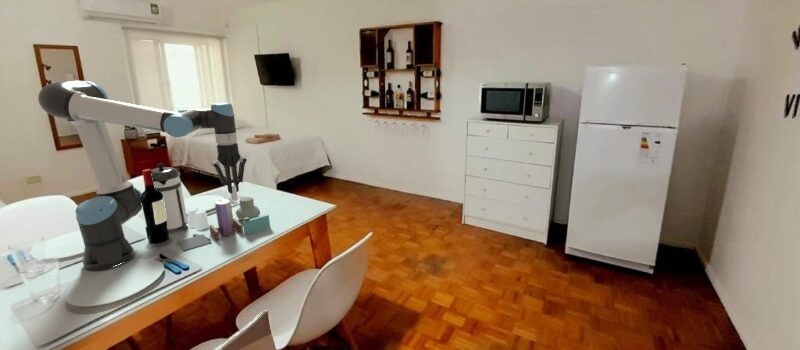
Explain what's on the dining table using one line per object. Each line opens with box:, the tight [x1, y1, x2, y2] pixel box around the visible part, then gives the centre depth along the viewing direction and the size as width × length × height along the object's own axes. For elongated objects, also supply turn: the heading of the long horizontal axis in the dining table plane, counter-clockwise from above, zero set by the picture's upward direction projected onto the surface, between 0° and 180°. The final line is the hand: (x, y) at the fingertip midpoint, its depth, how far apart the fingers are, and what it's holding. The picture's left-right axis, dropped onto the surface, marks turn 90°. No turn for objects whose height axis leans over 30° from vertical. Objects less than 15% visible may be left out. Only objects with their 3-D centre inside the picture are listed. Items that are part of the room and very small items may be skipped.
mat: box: [176, 234, 212, 252], centre depth 152 cm, size 10×10×1 cm
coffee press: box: [150, 162, 189, 231], centre depth 161 cm, size 17×16×30 cm
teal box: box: [242, 214, 271, 236], centre depth 161 cm, size 11×2×7 cm, turn 132°
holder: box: [208, 217, 244, 242], centre depth 159 cm, size 11×9×4 cm
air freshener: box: [235, 196, 261, 222], centre depth 173 cm, size 11×8×10 cm
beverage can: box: [214, 198, 236, 238], centre depth 157 cm, size 6×6×15 cm
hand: (234, 199), depth 151 cm, fingers closed
